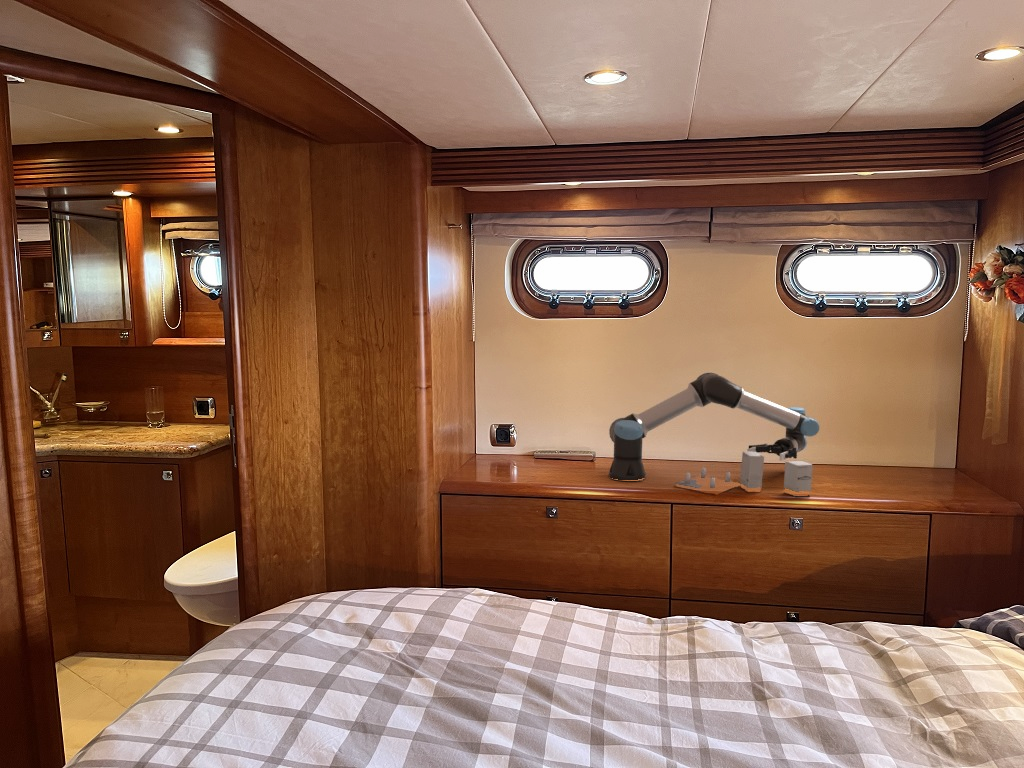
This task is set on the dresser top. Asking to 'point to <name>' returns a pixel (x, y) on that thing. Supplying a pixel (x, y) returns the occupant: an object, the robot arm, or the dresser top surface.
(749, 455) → the skincare box
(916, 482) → the dresser top surface
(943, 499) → the dresser top surface
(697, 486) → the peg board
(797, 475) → the supplement box
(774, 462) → the dresser top surface
